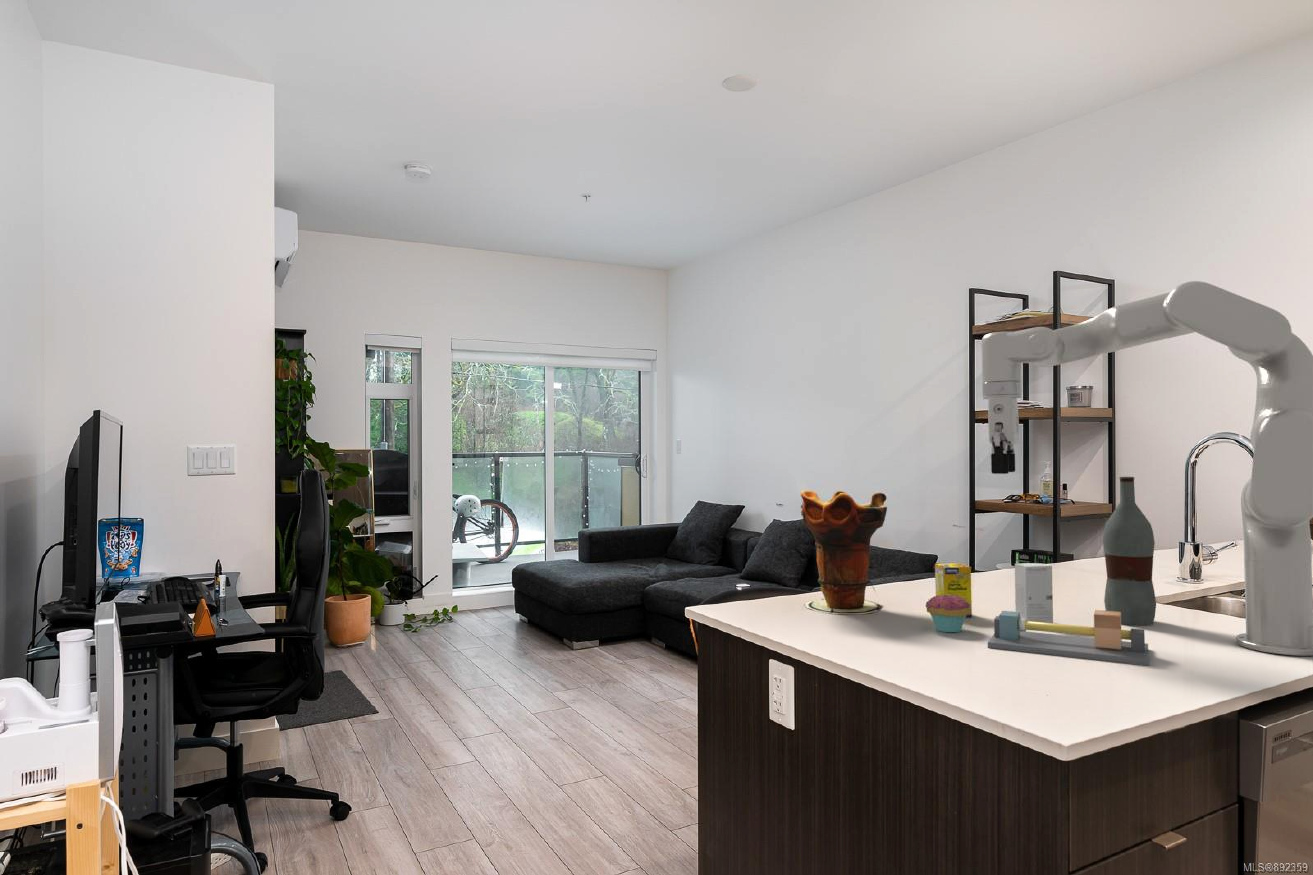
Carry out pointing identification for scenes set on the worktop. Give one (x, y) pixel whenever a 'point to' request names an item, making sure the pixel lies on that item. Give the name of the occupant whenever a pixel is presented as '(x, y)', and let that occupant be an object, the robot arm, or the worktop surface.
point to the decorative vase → (843, 549)
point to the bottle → (1129, 560)
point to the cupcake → (948, 610)
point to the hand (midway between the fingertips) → (1003, 472)
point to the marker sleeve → (1107, 629)
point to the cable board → (1064, 640)
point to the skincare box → (1034, 592)
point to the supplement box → (955, 581)
